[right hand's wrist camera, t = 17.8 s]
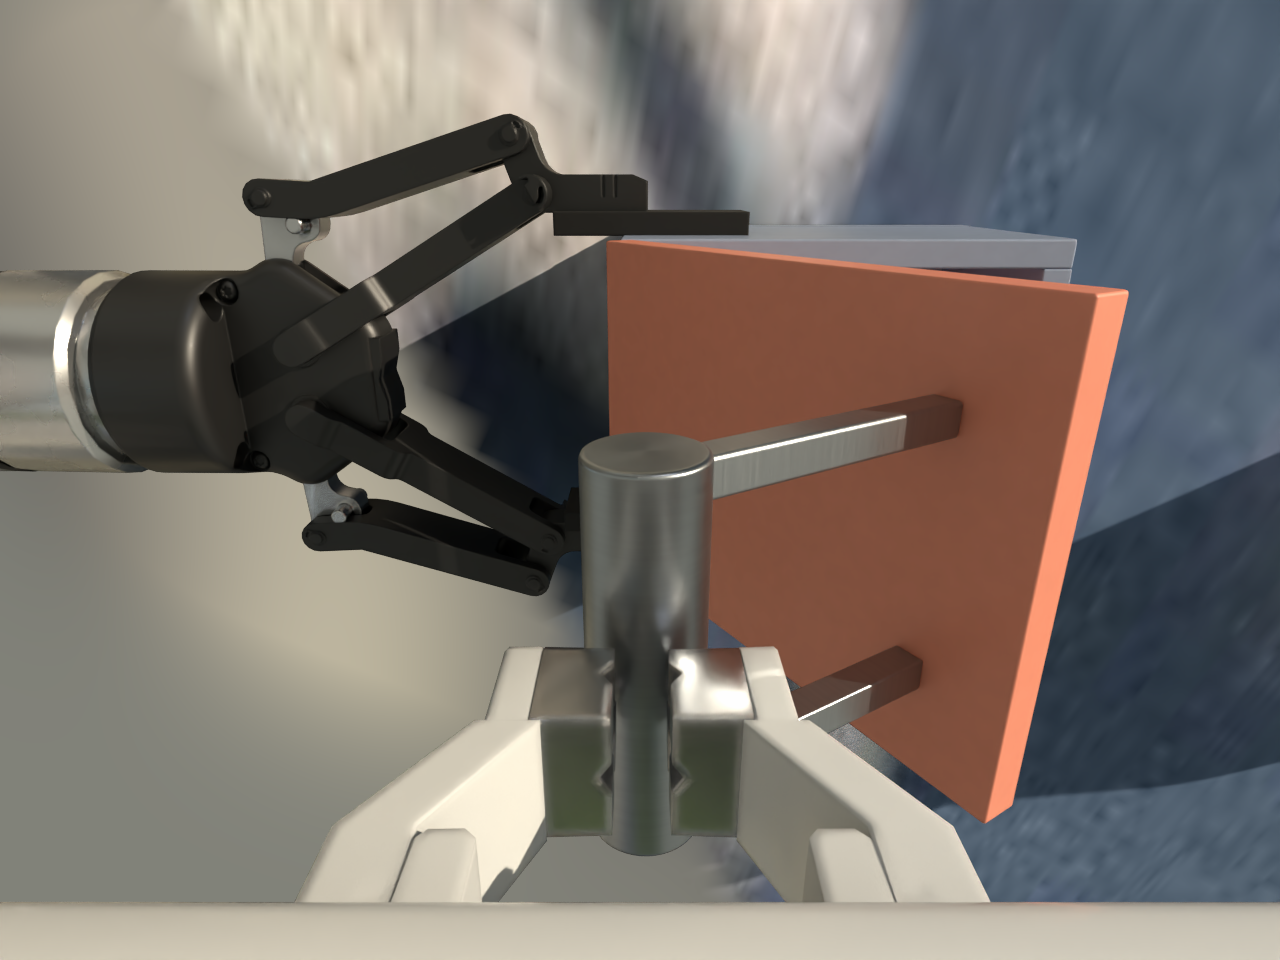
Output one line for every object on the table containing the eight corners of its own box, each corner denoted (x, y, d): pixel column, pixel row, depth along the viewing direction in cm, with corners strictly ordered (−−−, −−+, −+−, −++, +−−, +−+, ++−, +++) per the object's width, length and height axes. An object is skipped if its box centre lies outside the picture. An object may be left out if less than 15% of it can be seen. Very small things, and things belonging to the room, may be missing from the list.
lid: (1131, 289, 12) (687, 345, 7) (1013, 806, 15) (672, 1036, 11) (632, 239, 23) (350, 251, 19) (633, 539, 27) (397, 604, 23)
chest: (961, 224, 32) (1079, 238, 23) (928, 452, 36) (1019, 539, 27) (629, 224, 32) (619, 238, 23) (630, 451, 36) (622, 536, 27)
